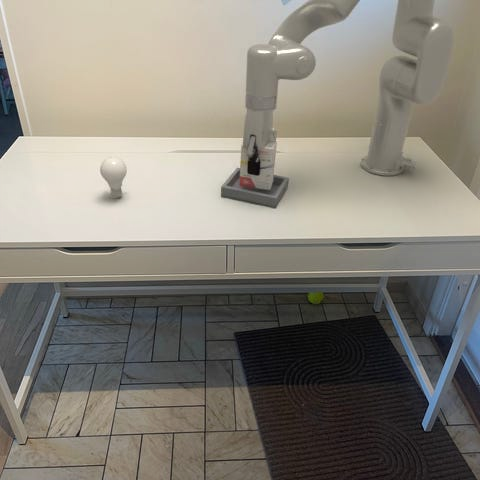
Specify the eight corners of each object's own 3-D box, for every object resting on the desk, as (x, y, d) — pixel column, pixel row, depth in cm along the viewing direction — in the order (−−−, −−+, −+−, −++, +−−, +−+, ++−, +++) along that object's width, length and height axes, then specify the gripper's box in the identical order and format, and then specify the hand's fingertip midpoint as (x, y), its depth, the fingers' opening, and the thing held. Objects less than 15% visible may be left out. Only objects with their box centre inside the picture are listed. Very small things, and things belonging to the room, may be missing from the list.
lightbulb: (134, 194, 124) (129, 155, 117) (121, 205, 119) (116, 165, 113) (112, 189, 125) (107, 151, 119) (99, 200, 120) (93, 161, 114)
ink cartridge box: (238, 186, 124) (240, 133, 116) (242, 178, 128) (244, 126, 120) (271, 190, 123) (275, 137, 114) (273, 181, 127) (278, 129, 118)
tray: (288, 187, 130) (289, 177, 128) (275, 208, 120) (276, 198, 118) (236, 177, 133) (237, 167, 132) (220, 196, 124) (221, 186, 122)
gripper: (257, 88, 120) (254, 154, 131) (233, 110, 107) (232, 181, 117) (286, 92, 118) (280, 158, 129) (265, 115, 105) (260, 187, 115)
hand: (257, 168), depth 123 cm, fingers closed on ink cartridge box, 5 cm apart
